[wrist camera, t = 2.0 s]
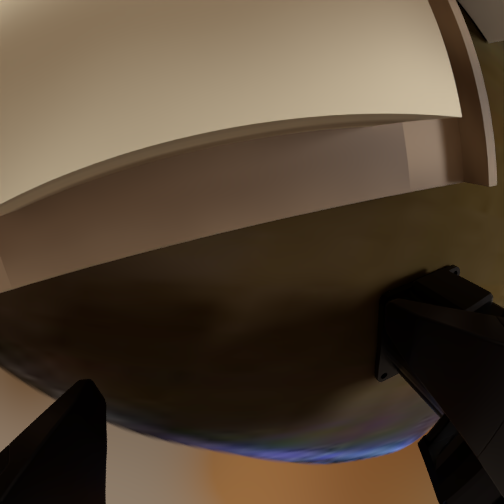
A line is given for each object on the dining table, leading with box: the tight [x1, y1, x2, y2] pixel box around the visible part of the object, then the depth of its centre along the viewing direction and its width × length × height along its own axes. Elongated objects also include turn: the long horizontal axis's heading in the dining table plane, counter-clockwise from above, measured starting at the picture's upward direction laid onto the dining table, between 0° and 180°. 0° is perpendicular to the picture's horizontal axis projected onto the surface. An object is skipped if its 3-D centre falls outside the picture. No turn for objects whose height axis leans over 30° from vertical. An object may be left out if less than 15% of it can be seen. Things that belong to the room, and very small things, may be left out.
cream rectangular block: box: [0, 0, 462, 216], centre depth 5 cm, size 5×12×4 cm, turn 101°
